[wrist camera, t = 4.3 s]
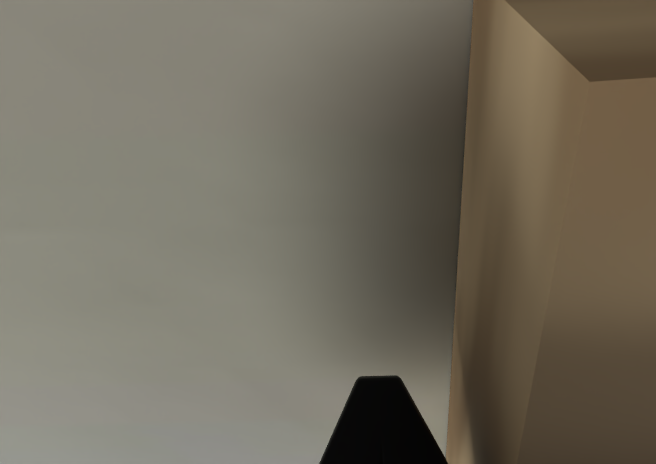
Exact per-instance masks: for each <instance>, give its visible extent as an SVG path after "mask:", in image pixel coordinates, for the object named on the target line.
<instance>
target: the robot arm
mask: <svg viewBox="0 0 656 464" xmlns="http://www.w3.org/2000/svg"><path fill="white" fill-rule="evenodd" d="M319 464H448V462H447V460H446V459H445V457H444V455H443V453H442V451H441V450H440V448H439V446H438V444H437V442H436V441H435V439H434V437H433V435H432V433H431V432H430V430H429V428H428V426H427V424H426V423H425V421H424V419H423V417H422V415H421V414H420V412H419V410H418V408H417V406H416V405H415V403H414V401H413V399H412V397H411V396H410V394H409V392H408V390H407V388H406V387H405V385H404V383H403V381H402V380H401V378H400V377H398V376H361V377H359V378H358V379H357V380H356V382H355V384H354V386H353V388H352V391H351V393H350V395H349V397H348V400H347V402H346V404H345V407H344V409H343V411H342V413H341V416H340V418H339V420H338V422H337V425H336V427H335V429H334V431H333V434H332V436H331V438H330V440H329V443H328V445H327V447H326V450H325V452H324V454H323V456H322V459H321V461H320V463H319Z"/></svg>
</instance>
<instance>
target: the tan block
mask: <svg viewBox="0 0 656 464" xmlns="http://www.w3.org/2000/svg"><path fill="white" fill-rule="evenodd" d="M446 460H447V462H448V464H656V0H473V17H472V33H471V50H470V66H469V83H468V100H467V116H466V133H465V150H464V166H463V183H462V199H461V216H460V233H459V249H458V266H457V282H456V299H455V316H454V332H453V349H452V366H451V382H450V399H449V415H448V432H447V449H446Z"/></svg>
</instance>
